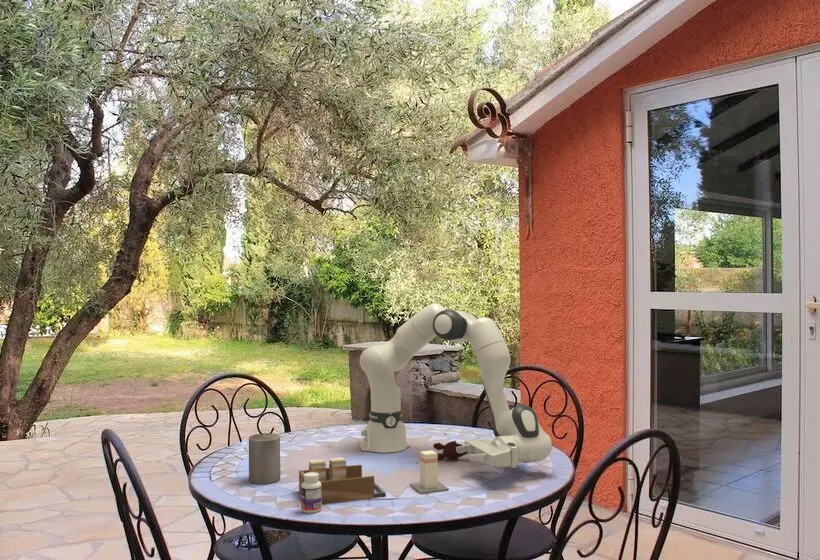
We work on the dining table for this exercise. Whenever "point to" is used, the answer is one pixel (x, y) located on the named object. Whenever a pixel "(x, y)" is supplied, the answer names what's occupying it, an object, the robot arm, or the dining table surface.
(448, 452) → the icecream
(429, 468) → the banded cream pillar
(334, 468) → the dispenser
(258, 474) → the pillar candle
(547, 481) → the dining table surface
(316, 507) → the pill bottle
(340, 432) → the dining table surface
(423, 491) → the pad
